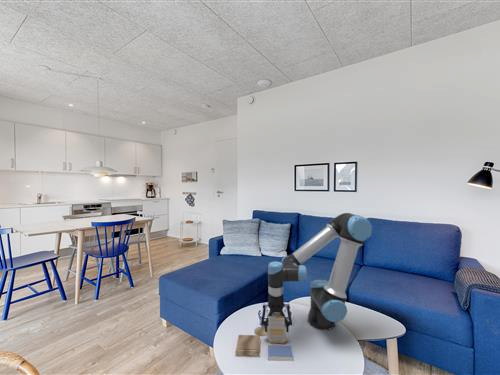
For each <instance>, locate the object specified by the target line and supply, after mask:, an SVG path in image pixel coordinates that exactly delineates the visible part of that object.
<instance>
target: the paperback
mask: <svg viewBox="0 0 500 375" xmlns="http://www.w3.org/2000/svg"><path fill="white" fill-rule="evenodd" d="M267 355H268V356H267V358H268V359H267V360H268V361H282V362H283V361H287V362H293V361H294V356H293V350H292V345H280V344H279V345H277V344H276V345H274V344H268V345H267Z"/></svg>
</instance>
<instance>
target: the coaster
mask: <svg viewBox="0 0 500 375" xmlns="http://www.w3.org/2000/svg"><path fill="white" fill-rule="evenodd" d="M253 332H254V335H259V336H260V337H265V336H266V337H267V332H265V326H258V327H256V328H255V329H254V330H253Z"/></svg>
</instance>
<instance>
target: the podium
mask: <svg viewBox="0 0 500 375" xmlns="http://www.w3.org/2000/svg"><path fill="white" fill-rule="evenodd" d="M260 352H261V336H259V335H256V334H254V335H253V334H252V335H251V334H238V336H237V342H236V345H235V356H236V357H255V358H256V357H260V354H261V353H260Z"/></svg>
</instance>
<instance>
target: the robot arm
mask: <svg viewBox="0 0 500 375" xmlns="http://www.w3.org/2000/svg"><path fill="white" fill-rule="evenodd" d="M372 232H373V226H372V224H371V222H370V221H369V219H367V217H364V216H361V215H357V214H353V213H350V212H344V213H341V214H339V215H337V216H335V217H334V218H332V219H331V220H330V221H329V222H328V223H326V226H325V227H324V228H323V229H322V230H320V231H319V232H318V233H316V234H315V235H314V236H312V238H310V239H309V240H308V241H307V242H305V243H304V244H303V245H301V246H300V247H299V248H298V249H297V250H295V251H294V252H292V253H291V254H289V255H285V256H283V257H282V258H281V261H271V262H269V263H268V264H267V265H268V266H267V281H268V282H267V283H268V284H267V285H268V287H267V288H268V290H267V292H268V303H262V315H261V321H260V322H261V323H260V324H261V326H264V327H265V332H267V335H266V338H267V340H269V325H268V316H271V315H272V314H273V313H280V314H281V316H284V317H285V341H287V340H288V338H287V336H288V335H287V334H288V333H289V332H290V328H289V326H293V319H292V316H291V312H290V310H291V305H290V303H285V302H284V301H285V300H284V283H286V282H287V283H288V282H291V283H292V282H299V283H300V282H305V281H307V279H308V270H307V266H306V265H303V264H304V263H305V262H306V261H308V260H309V259H310V258H311V257H313V256H314V255H315V254H317V253H318V252H319V251H320V250H321V249H323V248H324V247H326V246H327V245H328V244H329V243H331V242H332V241H333V240H334V239H335V238H339V239H340V244H339V248H338V250H337V253H336V257H335V259H334V263H333V266H332V269H331V274H330V276H329V280H325V279H314V280H311V281H310V287H309V290H310V291H309V292H310V308H309V311H308V315H307V322H308V324H309V323H310V324H311V326H312V327H313V326H314V327H313V328H314V329H319V330H323V329H328V330H330V329H329V328H332V327H333V328H335V327H336V325H335V323H339V322H341V321H343V320H344V319H345V318H346V316H347V313H348V308H347V305H346V300H347V298H348V297H347V294H346V289H347V286H348V283H349V279H350V277H351V274H352V270H353V266H354V264H355V260H356V257H357V254H358V251H359V248H360V247H361V246H363V245H364V243H365V241H367V240H368V239H369V238H370V237H371V235H372ZM268 308H269V312H268V313H269V314H268V313H267V316H266V312H267V309H268ZM284 308H285V309H286V313H287V316H286V315H285V313H284V310H283V309H284ZM265 317H266V318H265ZM287 317H288V319H287ZM310 324H309V325H310ZM334 326H335V327H334ZM333 328H332V329H333Z"/></svg>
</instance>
